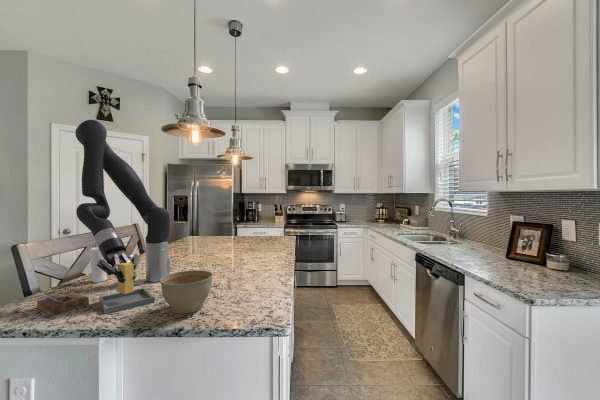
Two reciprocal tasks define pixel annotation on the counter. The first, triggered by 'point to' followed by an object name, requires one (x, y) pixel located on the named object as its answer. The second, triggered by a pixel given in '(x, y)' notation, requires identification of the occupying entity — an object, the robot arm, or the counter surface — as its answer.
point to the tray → (125, 300)
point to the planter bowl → (186, 290)
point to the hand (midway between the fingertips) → (128, 280)
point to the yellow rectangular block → (128, 274)
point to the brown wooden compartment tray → (62, 303)
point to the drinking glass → (97, 272)
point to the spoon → (138, 282)
